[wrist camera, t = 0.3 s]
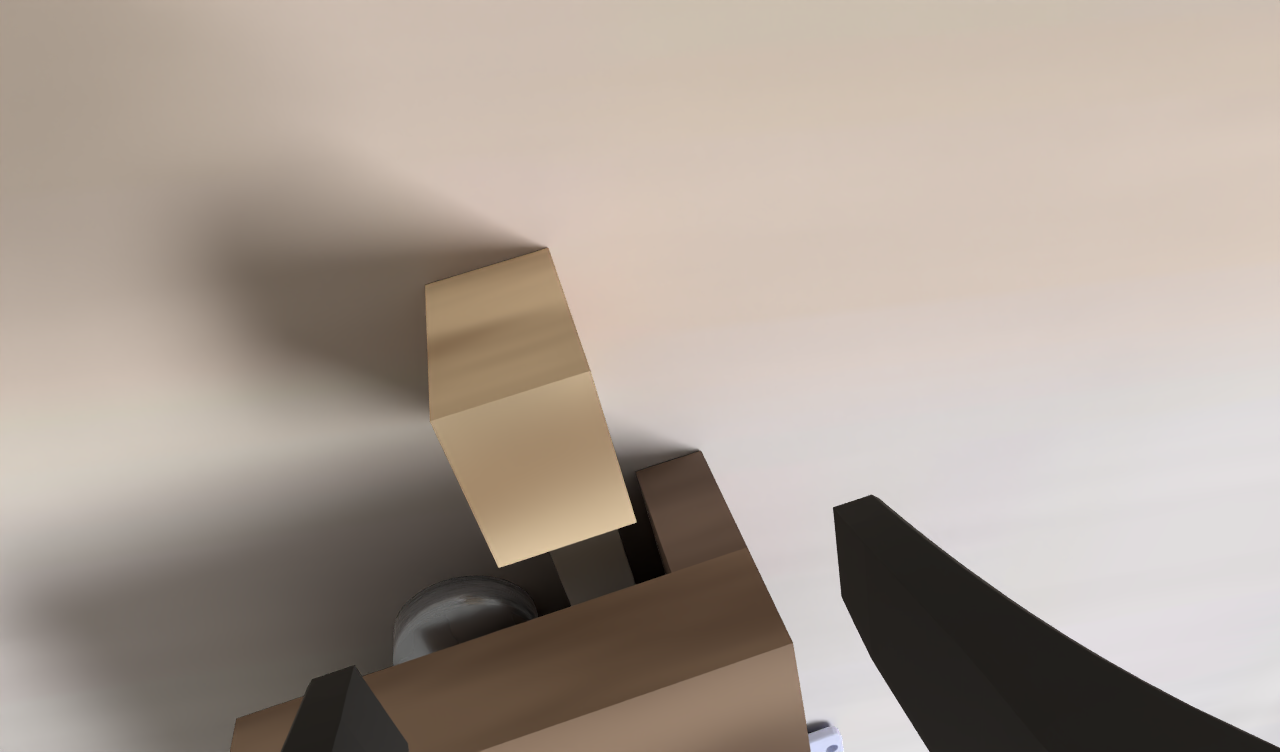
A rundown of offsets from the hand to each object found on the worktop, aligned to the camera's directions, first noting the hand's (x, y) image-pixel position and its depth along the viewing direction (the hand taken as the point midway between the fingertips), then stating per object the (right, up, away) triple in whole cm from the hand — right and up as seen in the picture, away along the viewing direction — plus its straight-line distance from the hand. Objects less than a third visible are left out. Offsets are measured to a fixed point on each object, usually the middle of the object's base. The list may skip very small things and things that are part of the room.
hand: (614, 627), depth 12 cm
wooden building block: (-2, 0, +11) cm, 12 cm away
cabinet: (-3, -4, +14) cm, 15 cm away
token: (-5, -4, +14) cm, 15 cm away
